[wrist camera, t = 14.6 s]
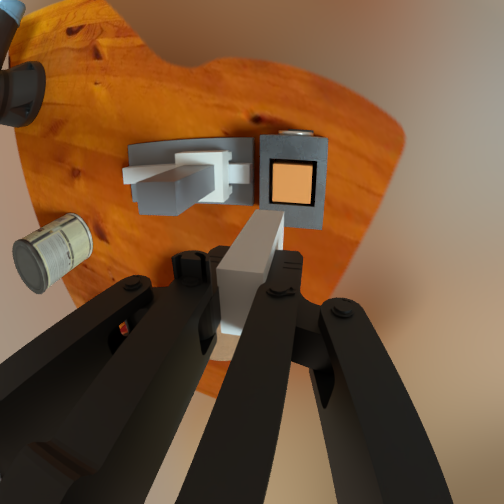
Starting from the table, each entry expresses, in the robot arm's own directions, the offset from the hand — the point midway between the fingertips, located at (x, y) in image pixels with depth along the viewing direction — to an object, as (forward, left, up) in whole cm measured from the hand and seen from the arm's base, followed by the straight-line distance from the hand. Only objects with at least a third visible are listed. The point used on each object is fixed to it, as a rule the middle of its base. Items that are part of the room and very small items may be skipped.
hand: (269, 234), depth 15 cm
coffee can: (+12, -42, -23) cm, 49 cm away
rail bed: (0, -15, -22) cm, 27 cm away
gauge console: (0, 0, -22) cm, 22 cm away
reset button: (0, 0, -19) cm, 19 cm away
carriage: (0, -11, -21) cm, 23 cm away
